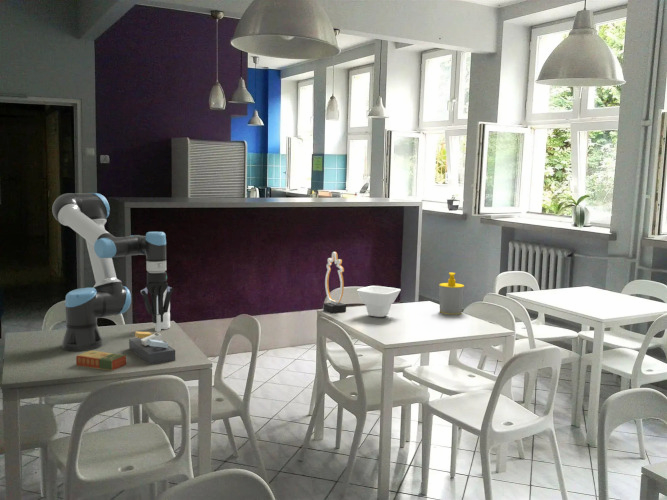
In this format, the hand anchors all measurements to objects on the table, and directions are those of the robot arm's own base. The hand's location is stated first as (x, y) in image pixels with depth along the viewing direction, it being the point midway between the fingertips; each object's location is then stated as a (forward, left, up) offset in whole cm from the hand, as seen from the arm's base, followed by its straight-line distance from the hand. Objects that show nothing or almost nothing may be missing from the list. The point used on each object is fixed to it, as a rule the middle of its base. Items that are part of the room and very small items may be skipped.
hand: (157, 330), depth 242 cm
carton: (-23, -4, -10) cm, 25 cm away
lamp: (+105, +29, -9) cm, 110 cm away
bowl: (+117, +7, -9) cm, 118 cm away
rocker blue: (-3, -7, -3) cm, 8 cm away
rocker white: (-3, 0, -3) cm, 4 cm away
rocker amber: (-3, +8, -3) cm, 9 cm away
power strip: (-3, +4, -9) cm, 10 cm away
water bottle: (+15, +39, -9) cm, 43 cm away
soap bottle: (+157, -5, -9) cm, 158 cm away
